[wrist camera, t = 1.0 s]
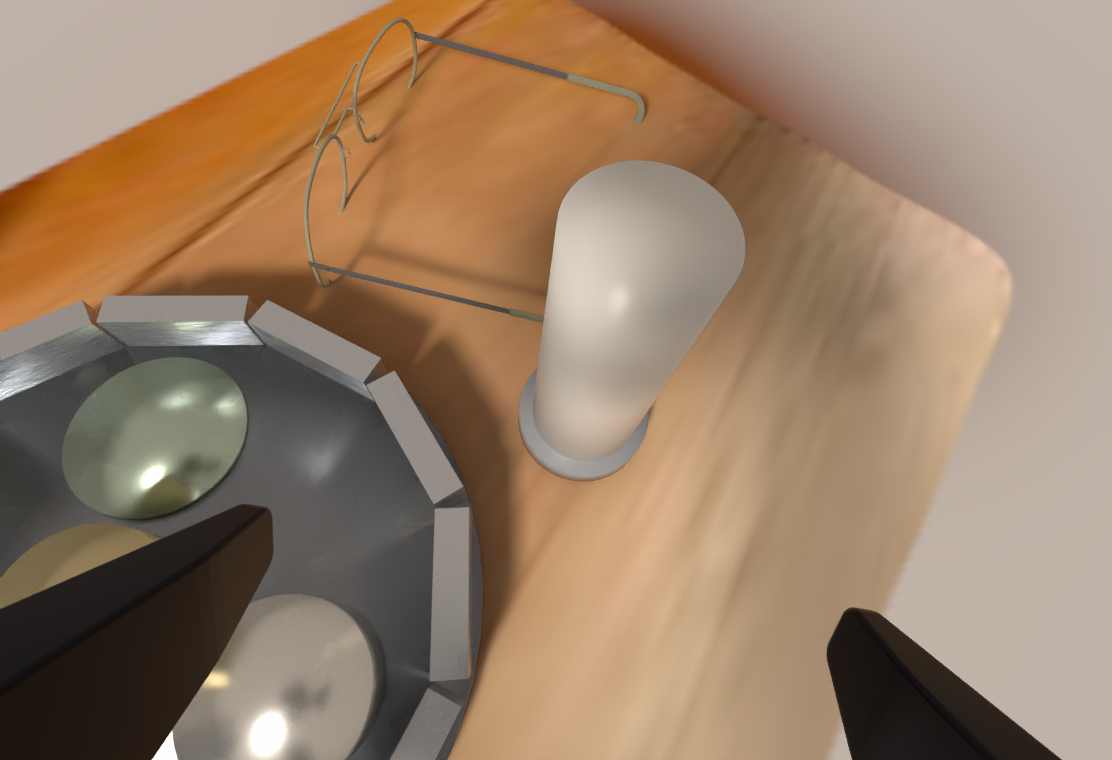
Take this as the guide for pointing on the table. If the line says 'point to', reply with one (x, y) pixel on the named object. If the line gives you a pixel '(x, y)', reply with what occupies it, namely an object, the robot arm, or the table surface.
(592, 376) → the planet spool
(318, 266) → the eyeglasses
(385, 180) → the table surface
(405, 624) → the carrier plate
